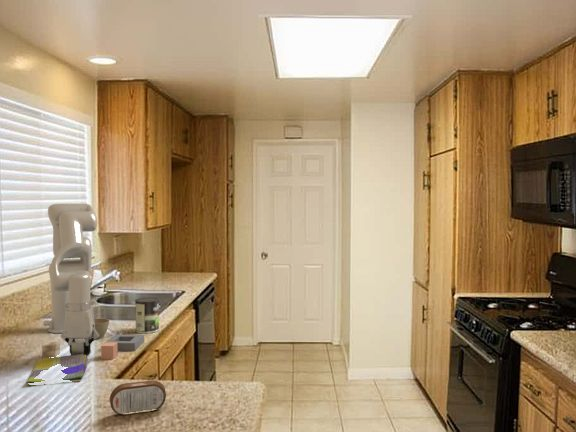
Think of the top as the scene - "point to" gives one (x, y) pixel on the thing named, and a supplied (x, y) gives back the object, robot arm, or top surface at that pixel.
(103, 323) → the flower pot
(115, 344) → the terracotta block
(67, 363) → the dish towel
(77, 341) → the steel block
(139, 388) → the tin
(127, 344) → the bearing plate
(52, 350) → the birch block
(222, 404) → the top surface
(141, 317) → the coffee can
